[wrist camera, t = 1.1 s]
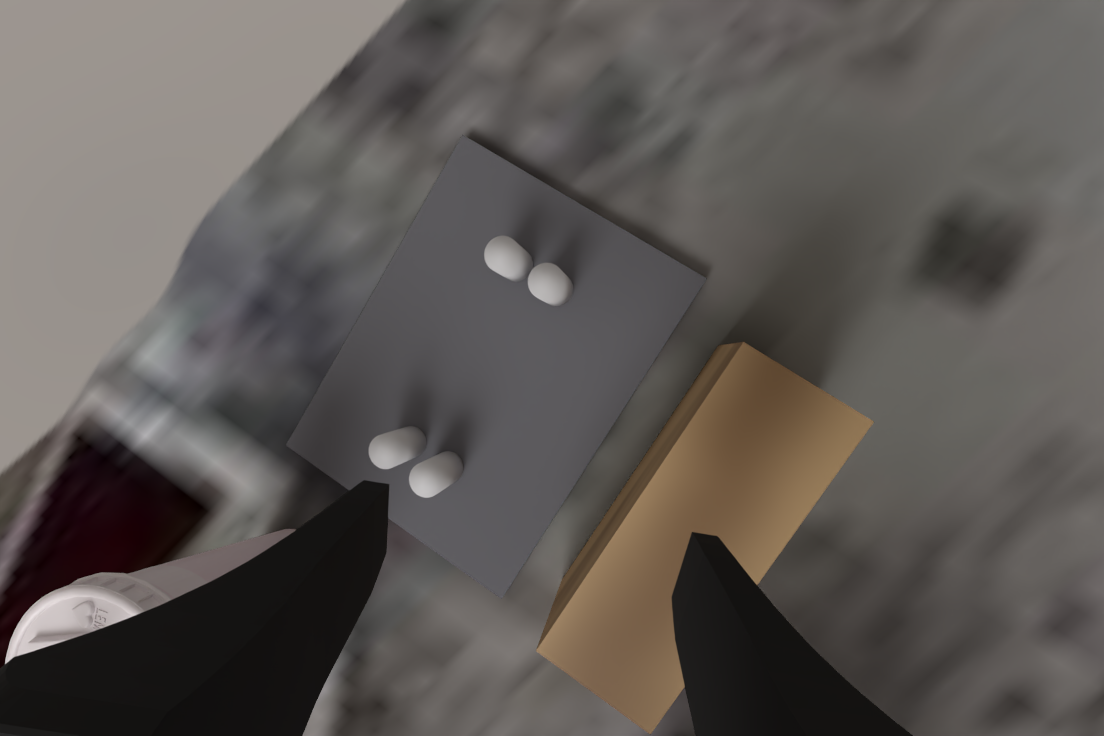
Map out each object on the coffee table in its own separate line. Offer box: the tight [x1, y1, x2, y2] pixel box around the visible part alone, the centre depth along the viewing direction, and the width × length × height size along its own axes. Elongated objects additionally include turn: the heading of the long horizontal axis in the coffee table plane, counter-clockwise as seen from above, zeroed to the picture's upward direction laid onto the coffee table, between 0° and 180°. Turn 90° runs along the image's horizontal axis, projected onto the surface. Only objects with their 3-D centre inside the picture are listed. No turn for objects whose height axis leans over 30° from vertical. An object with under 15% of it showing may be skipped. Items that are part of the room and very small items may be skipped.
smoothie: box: [5, 529, 296, 664], centre depth 19 cm, size 6×6×14 cm
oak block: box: [536, 342, 874, 734], centre depth 20 cm, size 4×12×6 cm, turn 147°
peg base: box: [286, 135, 707, 599], centre depth 23 cm, size 12×16×3 cm
